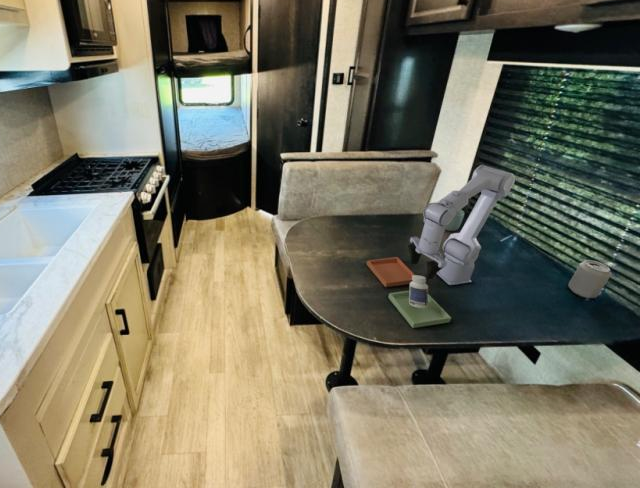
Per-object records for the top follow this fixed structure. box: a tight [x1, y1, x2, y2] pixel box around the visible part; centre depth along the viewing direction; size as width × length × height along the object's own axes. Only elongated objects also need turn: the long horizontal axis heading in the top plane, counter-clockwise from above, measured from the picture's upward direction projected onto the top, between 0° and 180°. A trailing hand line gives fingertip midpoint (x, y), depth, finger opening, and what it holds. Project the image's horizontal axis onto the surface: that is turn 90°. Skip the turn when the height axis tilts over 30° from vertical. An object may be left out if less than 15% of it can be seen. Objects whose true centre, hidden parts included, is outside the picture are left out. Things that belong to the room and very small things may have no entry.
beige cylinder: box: [567, 259, 612, 299], centre depth 109 cm, size 8×8×12 cm
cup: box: [445, 209, 466, 232], centre depth 148 cm, size 8×8×10 cm
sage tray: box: [388, 290, 452, 329], centre depth 105 cm, size 13×13×2 cm
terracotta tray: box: [366, 256, 416, 288], centre depth 121 cm, size 13×13×2 cm
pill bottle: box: [408, 274, 429, 308], centre depth 105 cm, size 5×5×10 cm
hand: (421, 270), depth 108 cm, fingers open, 7 cm apart
